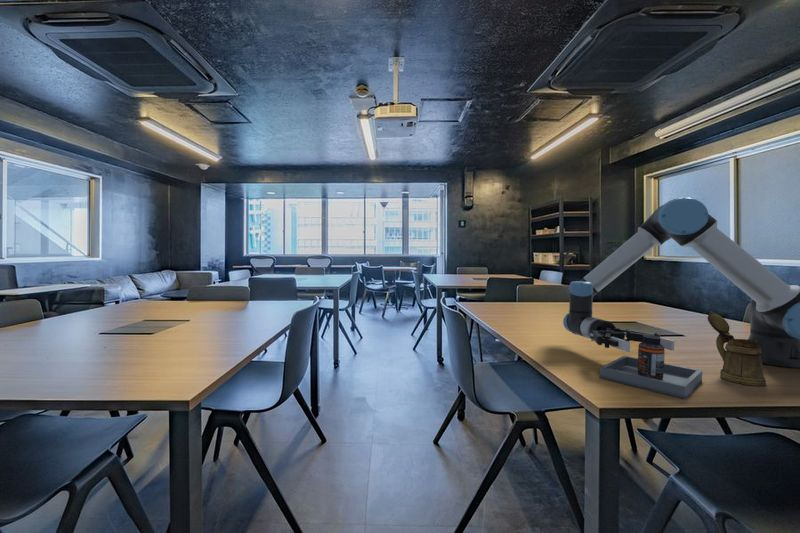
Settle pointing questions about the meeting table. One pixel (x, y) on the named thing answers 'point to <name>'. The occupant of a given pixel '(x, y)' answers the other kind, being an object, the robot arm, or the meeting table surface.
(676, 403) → the meeting table surface
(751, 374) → the wooden mug
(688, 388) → the grey tray
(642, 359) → the supplement bottle
